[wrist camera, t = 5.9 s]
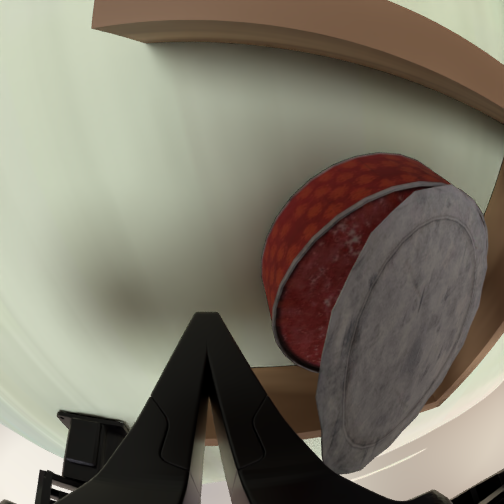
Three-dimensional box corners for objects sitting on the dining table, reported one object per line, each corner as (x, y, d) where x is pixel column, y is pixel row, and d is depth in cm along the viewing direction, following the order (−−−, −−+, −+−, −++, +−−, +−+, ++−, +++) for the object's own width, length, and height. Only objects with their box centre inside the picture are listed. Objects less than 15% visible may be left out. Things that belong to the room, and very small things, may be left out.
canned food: (258, 167, 15) (262, 89, 5) (432, 174, 15) (568, 152, 5) (262, 374, 16) (266, 519, 6) (419, 359, 16) (512, 450, 6)
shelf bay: (415, 358, 20) (439, 406, 16) (167, 378, 17) (164, 444, 13) (525, 115, 9) (588, 147, 6) (148, 10, 7) (98, -26, 3)
